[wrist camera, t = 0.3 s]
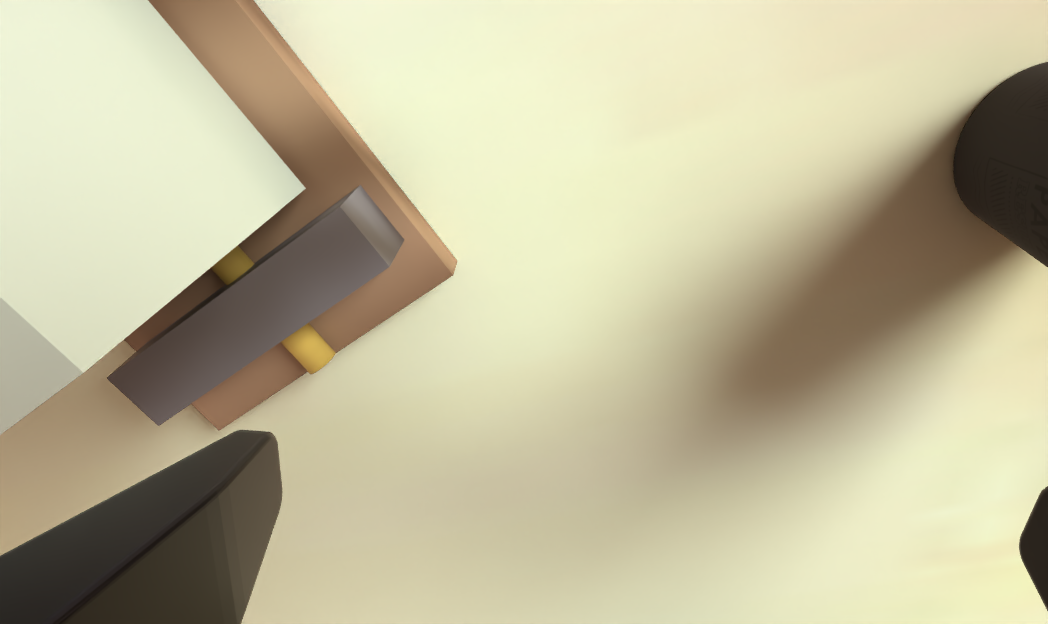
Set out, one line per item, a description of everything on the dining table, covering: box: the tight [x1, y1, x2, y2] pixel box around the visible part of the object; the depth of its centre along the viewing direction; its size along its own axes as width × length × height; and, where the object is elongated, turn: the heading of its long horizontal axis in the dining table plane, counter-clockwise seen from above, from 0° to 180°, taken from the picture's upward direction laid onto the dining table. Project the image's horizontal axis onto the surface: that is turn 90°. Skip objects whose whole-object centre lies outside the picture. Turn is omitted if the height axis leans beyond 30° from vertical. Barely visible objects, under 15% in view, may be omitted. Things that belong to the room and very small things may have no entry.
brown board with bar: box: [107, 0, 457, 430], centre depth 17 cm, size 22×10×6 cm, turn 35°
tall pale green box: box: [0, 0, 306, 435], centre depth 14 cm, size 6×7×10 cm
